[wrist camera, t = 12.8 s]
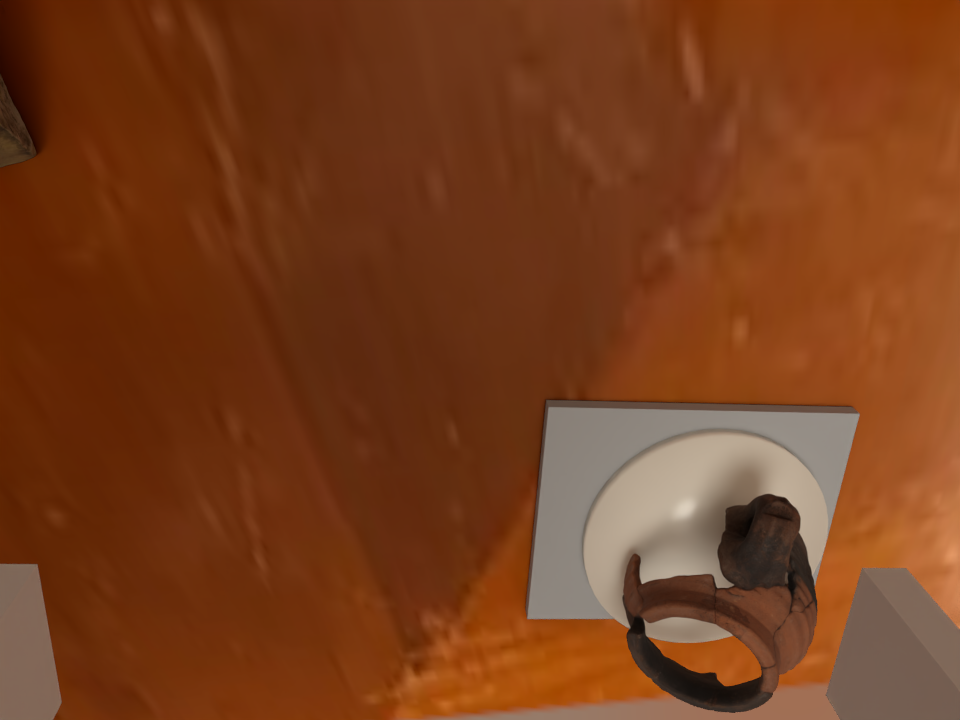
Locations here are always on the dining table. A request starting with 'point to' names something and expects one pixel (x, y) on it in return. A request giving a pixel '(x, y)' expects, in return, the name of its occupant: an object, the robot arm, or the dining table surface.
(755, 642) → the broken terracotta ring
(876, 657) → the robot arm
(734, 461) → the cream round plate
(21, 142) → the rock
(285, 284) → the dining table surface
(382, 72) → the dining table surface
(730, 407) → the felt placemat
